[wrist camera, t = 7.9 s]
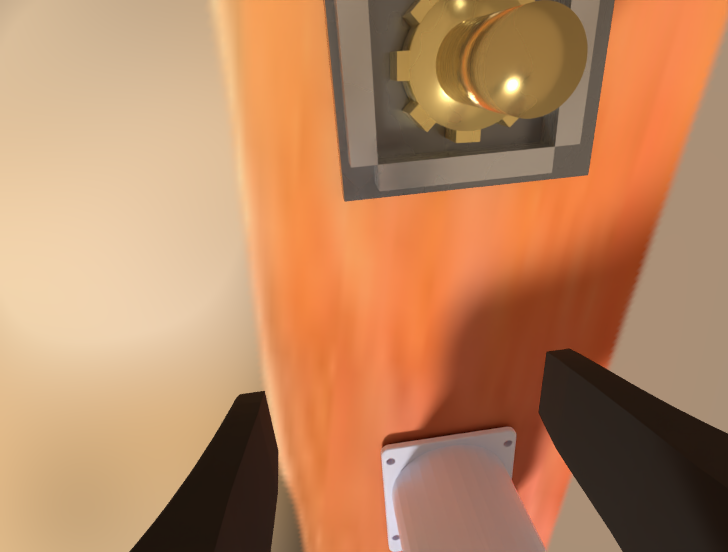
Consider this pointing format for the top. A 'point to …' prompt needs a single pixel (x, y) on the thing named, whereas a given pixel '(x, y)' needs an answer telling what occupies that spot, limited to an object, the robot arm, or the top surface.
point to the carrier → (431, 149)
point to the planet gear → (487, 62)
